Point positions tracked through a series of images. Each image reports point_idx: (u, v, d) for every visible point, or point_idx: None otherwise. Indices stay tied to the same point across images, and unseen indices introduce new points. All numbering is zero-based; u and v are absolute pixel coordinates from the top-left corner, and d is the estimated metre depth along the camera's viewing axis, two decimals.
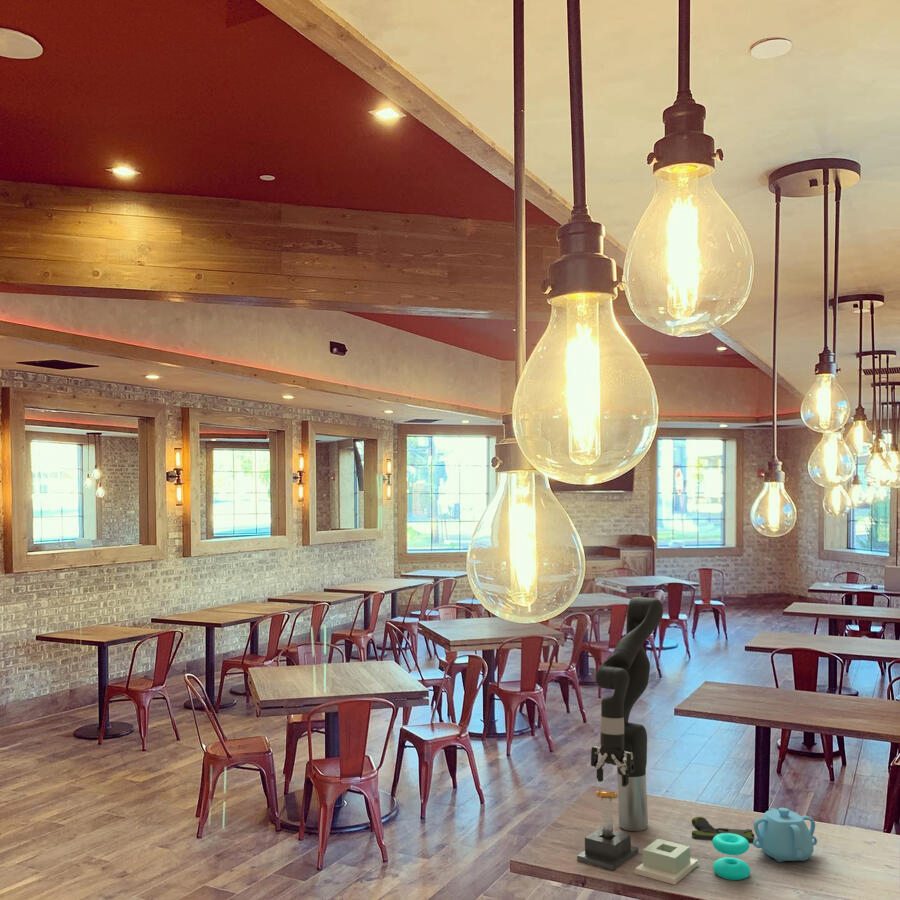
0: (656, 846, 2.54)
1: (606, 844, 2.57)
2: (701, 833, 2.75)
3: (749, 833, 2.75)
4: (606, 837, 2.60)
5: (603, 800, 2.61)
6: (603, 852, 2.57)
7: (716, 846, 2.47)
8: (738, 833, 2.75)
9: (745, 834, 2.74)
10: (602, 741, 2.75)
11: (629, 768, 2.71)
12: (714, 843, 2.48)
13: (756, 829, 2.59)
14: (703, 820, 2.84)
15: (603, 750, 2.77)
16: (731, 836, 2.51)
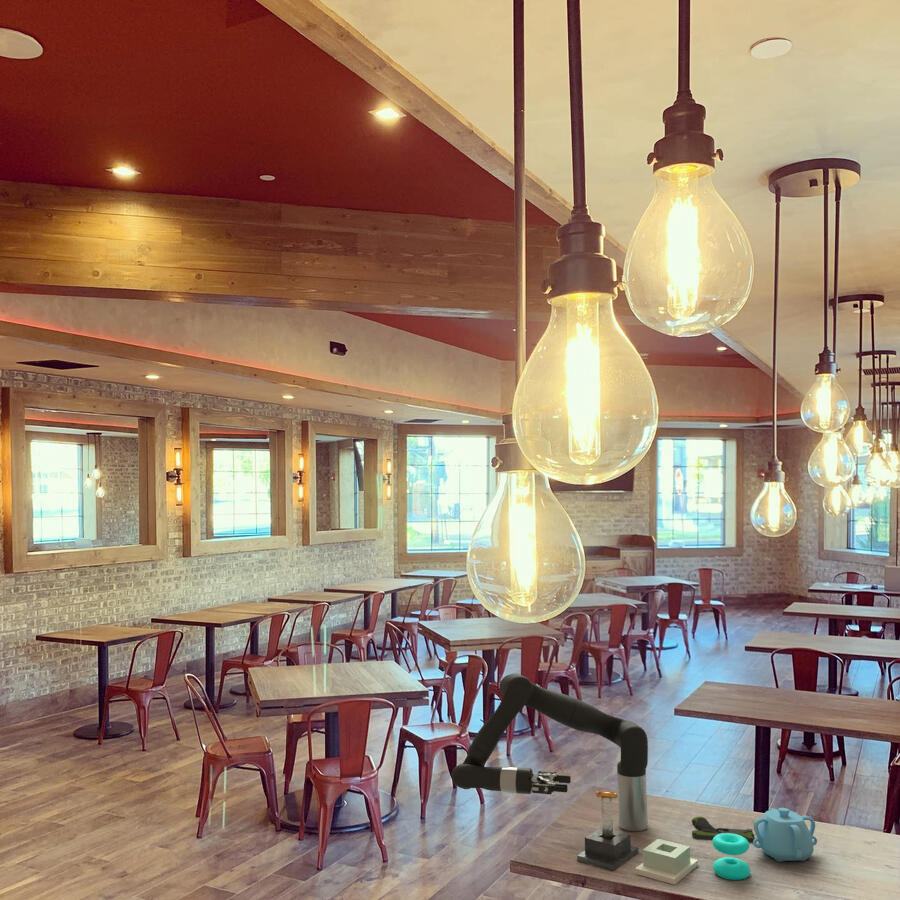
0: (656, 846, 2.54)
1: (606, 844, 2.57)
2: (701, 833, 2.75)
3: (749, 833, 2.75)
4: (606, 837, 2.60)
5: (603, 800, 2.61)
6: (603, 852, 2.57)
7: (716, 846, 2.47)
8: (738, 833, 2.75)
9: (745, 834, 2.74)
10: None
11: None
12: (714, 843, 2.48)
13: (756, 829, 2.59)
14: (703, 820, 2.84)
15: None
16: (731, 836, 2.51)
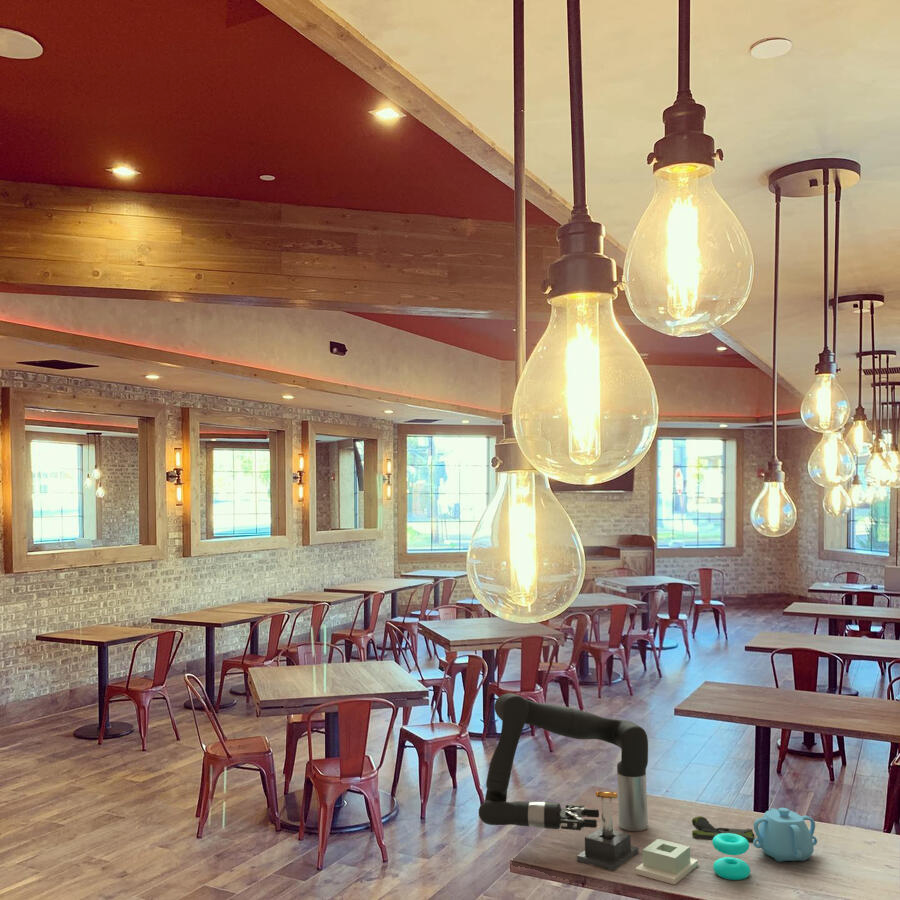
0: (656, 846, 2.54)
1: (606, 844, 2.57)
2: (701, 833, 2.75)
3: (749, 833, 2.75)
4: (606, 837, 2.61)
5: (603, 800, 2.61)
6: (603, 852, 2.57)
7: (716, 846, 2.47)
8: (738, 833, 2.75)
9: (745, 834, 2.74)
10: None
11: None
12: (714, 843, 2.48)
13: (756, 829, 2.59)
14: (703, 820, 2.84)
15: None
16: (730, 836, 2.51)
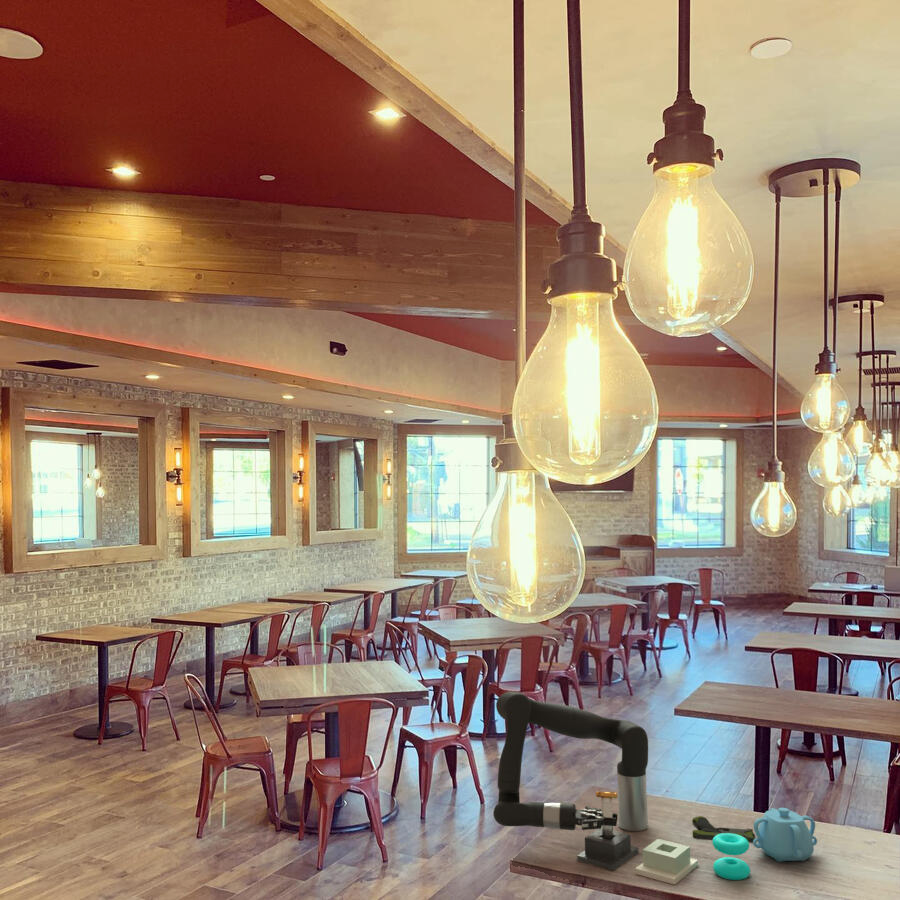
0: (656, 846, 2.54)
1: (606, 844, 2.57)
2: (702, 832, 2.75)
3: (750, 833, 2.75)
4: (606, 837, 2.60)
5: (603, 800, 2.61)
6: (603, 852, 2.57)
7: (716, 846, 2.47)
8: (739, 833, 2.75)
9: (746, 834, 2.74)
10: None
11: None
12: (714, 843, 2.48)
13: (756, 829, 2.59)
14: (704, 820, 2.84)
15: None
16: (730, 836, 2.51)
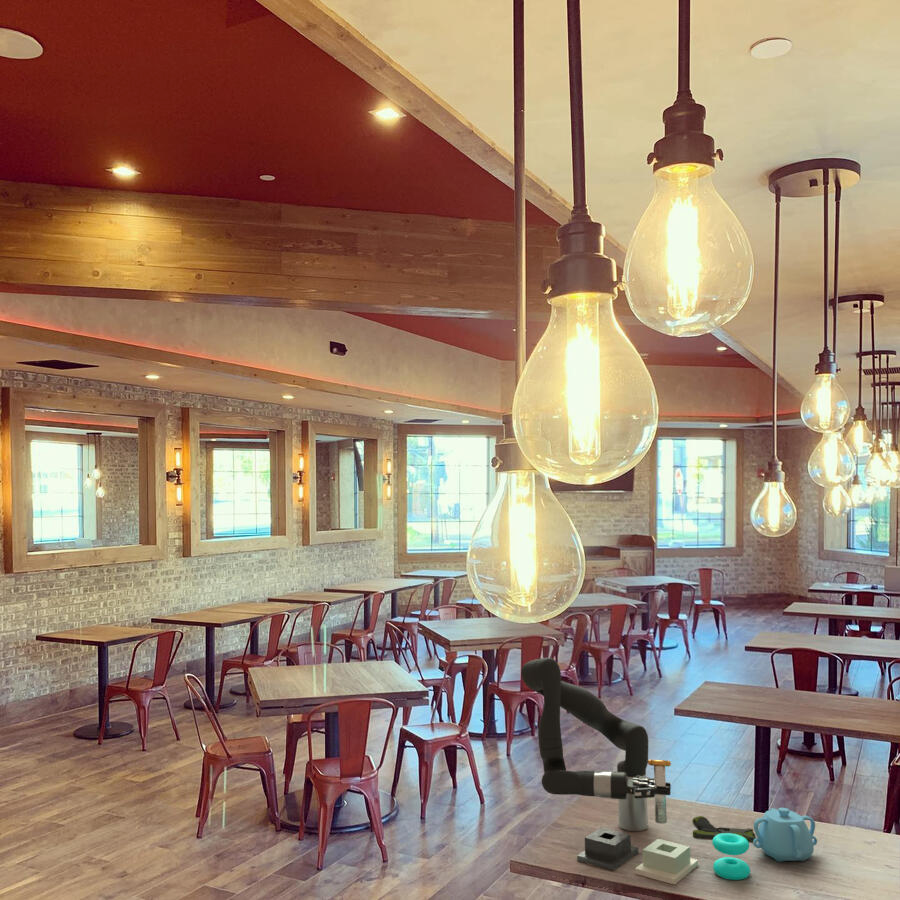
0: (656, 846, 2.54)
1: (606, 844, 2.57)
2: (702, 832, 2.75)
3: (750, 832, 2.75)
4: (659, 806, 2.52)
5: (656, 768, 2.53)
6: (603, 852, 2.57)
7: (716, 846, 2.47)
8: (739, 832, 2.75)
9: (746, 833, 2.74)
10: None
11: None
12: (714, 843, 2.48)
13: (756, 829, 2.59)
14: (704, 819, 2.85)
15: None
16: (730, 836, 2.51)
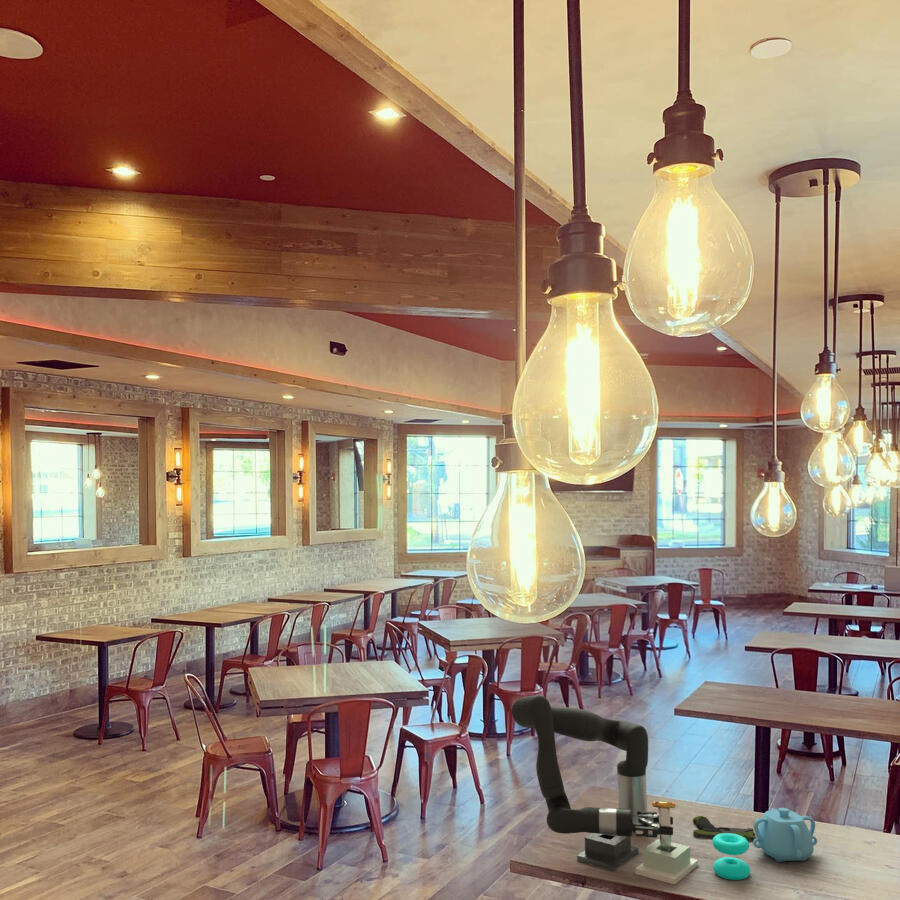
0: (656, 846, 2.54)
1: (606, 844, 2.57)
2: (703, 832, 2.76)
3: (750, 832, 2.75)
4: (664, 849, 2.51)
5: (661, 811, 2.52)
6: (603, 852, 2.57)
7: (716, 846, 2.47)
8: (739, 832, 2.76)
9: (746, 833, 2.75)
10: None
11: None
12: (714, 843, 2.48)
13: (756, 829, 2.59)
14: (704, 819, 2.85)
15: None
16: (730, 836, 2.51)
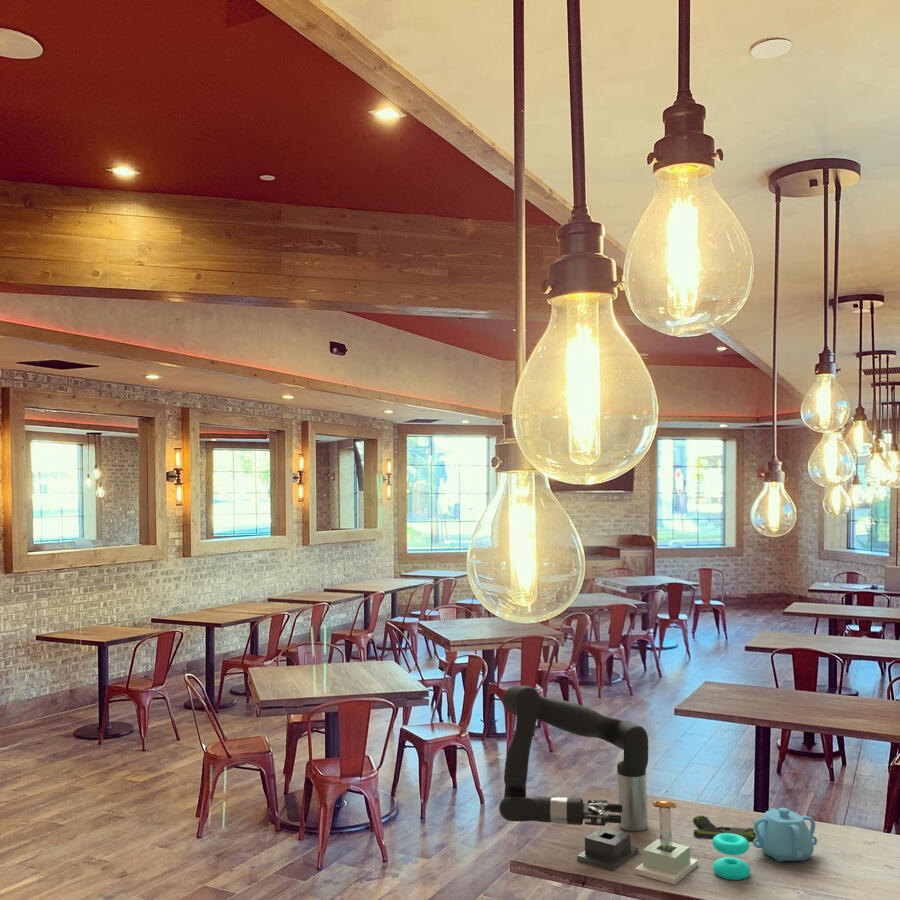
0: (656, 846, 2.54)
1: (606, 844, 2.57)
2: (703, 832, 2.76)
3: (751, 832, 2.76)
4: (665, 849, 2.51)
5: (662, 810, 2.52)
6: (603, 852, 2.57)
7: (716, 846, 2.47)
8: (740, 832, 2.76)
9: (747, 833, 2.75)
10: None
11: None
12: (714, 843, 2.48)
13: (756, 829, 2.59)
14: (704, 819, 2.85)
15: None
16: (730, 836, 2.51)
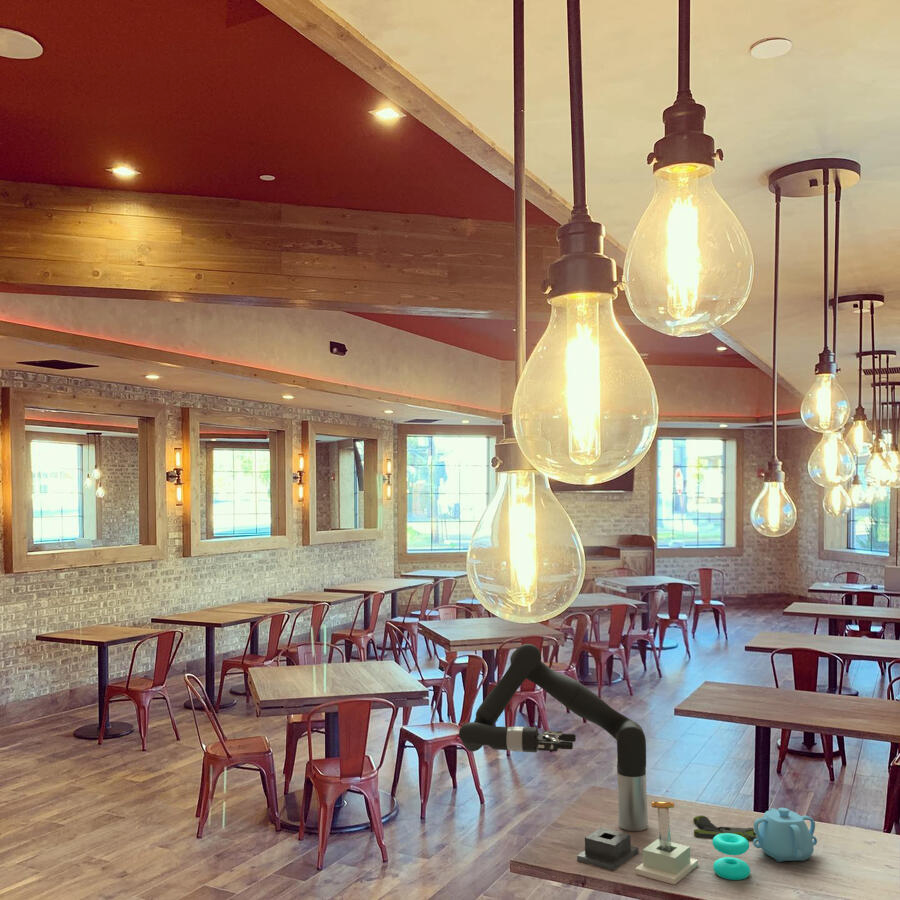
0: (656, 846, 2.54)
1: (606, 844, 2.57)
2: (703, 832, 2.76)
3: (751, 831, 2.76)
4: (664, 849, 2.51)
5: (660, 811, 2.52)
6: (603, 852, 2.57)
7: (716, 846, 2.47)
8: (740, 832, 2.76)
9: (747, 832, 2.75)
10: None
11: None
12: (714, 843, 2.48)
13: (756, 829, 2.59)
14: (705, 819, 2.85)
15: None
16: (731, 836, 2.51)
